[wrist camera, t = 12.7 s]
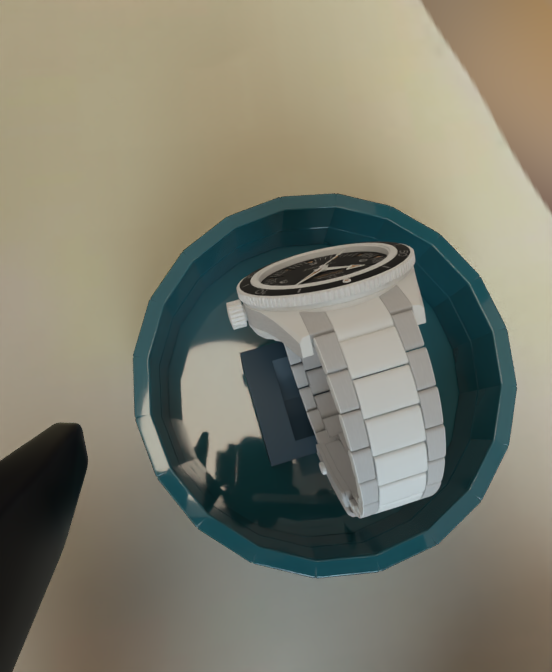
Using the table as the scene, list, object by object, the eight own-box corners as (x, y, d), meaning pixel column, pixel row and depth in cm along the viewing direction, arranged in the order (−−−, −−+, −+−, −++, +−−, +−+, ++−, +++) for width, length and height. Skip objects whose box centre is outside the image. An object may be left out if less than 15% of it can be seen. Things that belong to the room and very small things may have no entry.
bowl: (437, 581, 21) (485, 619, 17) (118, 505, 21) (83, 523, 17) (485, 276, 24) (537, 240, 20) (202, 209, 24) (190, 158, 20)
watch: (347, 289, 23) (428, 160, 12) (405, 465, 22) (555, 494, 11) (227, 322, 22) (201, 218, 12) (279, 504, 21) (304, 577, 10)
